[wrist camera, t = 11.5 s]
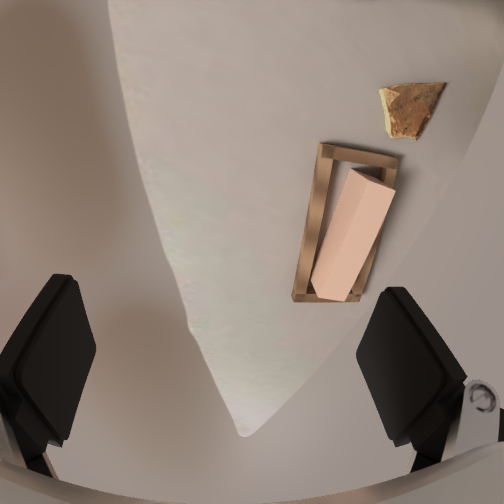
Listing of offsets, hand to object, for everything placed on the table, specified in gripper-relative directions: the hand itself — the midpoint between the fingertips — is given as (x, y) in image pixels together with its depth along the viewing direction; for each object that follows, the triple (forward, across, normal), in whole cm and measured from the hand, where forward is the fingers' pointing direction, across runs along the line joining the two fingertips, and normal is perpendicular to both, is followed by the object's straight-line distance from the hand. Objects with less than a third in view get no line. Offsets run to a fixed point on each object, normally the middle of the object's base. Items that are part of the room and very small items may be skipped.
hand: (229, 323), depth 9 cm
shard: (+29, -22, -10) cm, 38 cm away
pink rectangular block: (+29, -16, +9) cm, 34 cm away
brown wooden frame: (+28, -16, +9) cm, 34 cm away
